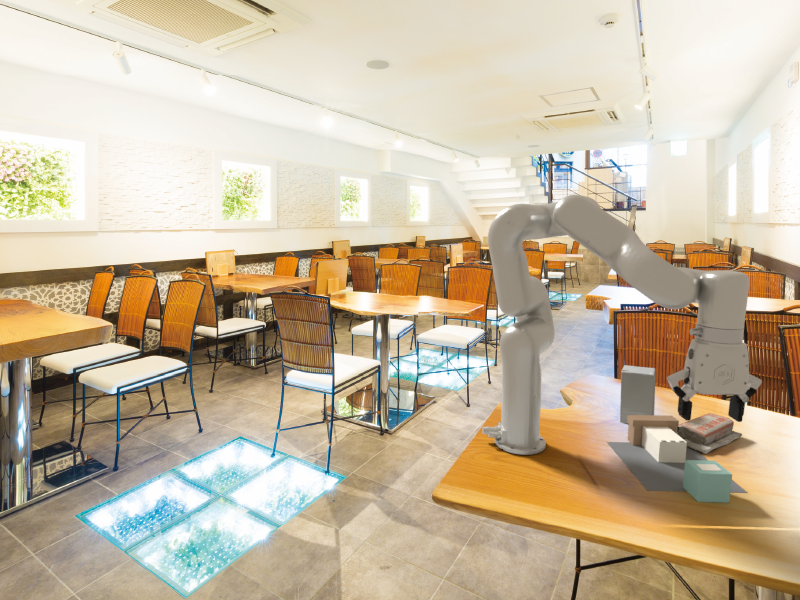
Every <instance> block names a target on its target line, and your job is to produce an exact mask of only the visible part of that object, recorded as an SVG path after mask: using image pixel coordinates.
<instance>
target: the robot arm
mask: <svg viewBox="0 0 800 600" xmlns="http://www.w3.org/2000/svg"><path fill="white" fill-rule="evenodd" d="M563 236H565V237H566V236H568V237H570V238H571V239H572V240H574V241H575V242H577V243H578V244H579V245H581V246H582V247H584V248H585V249H586V250H588V251H589V252H590V253H592V254H593V255H595V256H596V257H598V258H599V259H600V260H601V261H603V262H604V263H605V264H606V265H607V267H609V268H610V269H612V271H614V272H615V273H616V274H617V275H618V276H619V277H620V278H621V279H623V280H624V281H625V282H626V283H627V284H629V285H630V286H631V287H633V288H634V290H637V291H638V292H640V293H641V294H642V295H643V296H645V297H646V298H648V299H649V300H650V301H652V302H654V303H655V304H656V305H658V306H660V307H663V308H665V309H668V310H669V309H670V310H680V309H683V308H686V307H688V306H689V305H691V304H698V306H697V307H698V309H697V319H696V324H695V328H690V329H689V335H690V336H694V338H692V339H691V341H690V343H689V346H688V350H687V352H686V357H685V361H684V368H683V369H681V370H678V371H677V372H675V373H672V374H669V375H668V376H666V380H667V382H668V383H667V384H669V386H670V390H672V392H673V393H675V395H676V396H677V397H678V402H677V413H678V416H679V417H681V418H683V419H684V420H685V422H688V421H690V420H692V410H693V402H692V401H691V399H692V398H693V397H694V396H695V395H697V394H699V395H715V396H716V395H720V396H721V395H723V396H724V395H725V396H728V395H729V396H730V398H729V404H728V405H729V406H728V411H727V412H728V413H727V415H728V416H729V418H731V419H733V420H735V421H736V422H739V423H740V422H741V423H742V421H743V417H744V415H745V406H746V403H748V402H749V401H750V398H751V397H753V396H754V395H755V394H756V393H757V390H758V389H759V388H760V386H761V385H762V383H763V380H762V379H760V378H759V377H756V376H754V375H752V373H751V374H750V357H749V349H748V344H747V343H745V342H744V341H743V339H744V331H745V323H746V321H745V320H746V313H747V305H748V298H749V297H748V296H749V291H750V290H749V289H750V278H749V275H748V274H747V273H745V272H742V271H735V270H701V269H694V268H691V267H684V266H683V267H681V266H680V267H679V266H678V267H677V266H675V265H673V264H672V263H670V262H668V261H667V260H665V259H664V258H662V257H661V256H660V255H658V254H657V253H655V252H654V251H653V250H652V249H651V248H650V247H648V246H647V245H646V244H645V243H644V242H643V241H642V240H641V238H640V237H639V235H638V234H637V233H636V231H635V230H633V228H631V227H630V226H628V225H627V224H626V223H624V222H622V221H621V220H619V219H617V218H616V217H614V216H613V215H612V214H610V213H609V212H607V211H606V210H604V209H602V208H601V206H600V204H599V203H598V202H597V201H596V200H595V199H594V198H592V197H589V196H586V195H580V194H569V195H567V196H564V197H563V198H561V199H560V200H559V201H555V202H550V203H544V204H530V203H515V204H512V205H509V206H508V207H506V208H504V209H502V210H501V211H499V213H497V215H496V216H495V217H494V219H493V220H492V221H491V224H490V226H489V229H488V234H487V245H488V250H489V255H490V259H491V266H492V274H493V279H494V286H495V291H496V298H497V303H498V306H499V307H498V308H499V309H500V311H501V312H502V313H503V314H504V315H505V316H507V317H510V318H511V317H512V318H516V322H514V323H512V324H511V325H509V326H508V327H506V329H504V331H503V332H502V334H501V336H500V339H499V352H500V361H501V414H500V417H501V418H500V420H501V421H498V422H497V423H498V425H494V426H482V431H481V432H482V435H487V436H488V439H489V438H493V439H494V443H495V445H496V446H497V447H498V448H499V449H500V450H502V449H503V450H502V451H504V452H507V453H511V454H514V455H522V456H524V455H525V456H526V455H527V456H529V455H536V454H540V453H541V452H543V451H544V450H545V449H546V445H547V443H546V439H545V438H544V437H542V435H541V434H540V431H541V430H540V428H541V427H540V426H541V407H542V404H541V403H542V401H541V400H542V369H541V362H540V361H541V360H540V356H541V354H542V353H544V352H545V351H547V350H548V349H550V348H551V346H552V345H553V343H554V340H555V324H554V319H553V314H552V307H551V301H550V297H549V292H548V290H547V288H546V286H545V284H544V282H543V281H542V280H540V279H539V278H538V277H536V276H532V275H530V270H529V261H528V258H527V255H526V252H525V249H524V247H523V243H524V241H526V240H527V241H528V240H529V241H530V240H541V239H542V240H543V239H548V238H556V237H557V238H558V237H563ZM680 381H682V382H683V385H682V386H681V387H680V384H679V382H680Z"/></svg>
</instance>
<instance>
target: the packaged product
mask: <svg viewBox="0 0 800 600" xmlns="http://www.w3.org/2000/svg"><path fill="white" fill-rule="evenodd" d="M733 429H734V421H733V420H732V418H731V419H730V417H725V416H722V415H719V414H716V413H715V414H714V413H711V412H709V413H706V414H703V415H700V416H697V417H696V418H693V419H692V418H691V420H689V421H685V422H682V423H680V424H679V426H678V427H677V429H676V434H677V435H679V436H680V437H681V438H682V439H683V440H685V441H686V442H687V447H690V448H693V449H695V450H697V451H698V452H699V453H703V454H704V455H707V454H708V453H710V452H711V451H713V450H714V449H718V448H720V447H723V446H727V445H729V444H730V443H732V441H734V440H736V439H740V437H742V435H743V433H741V432H737V431H735V430H733Z"/></svg>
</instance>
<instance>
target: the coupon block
mask: <svg viewBox="0 0 800 600" xmlns="http://www.w3.org/2000/svg"><path fill="white" fill-rule="evenodd" d="M627 421H628V422H629V424H627V425H628V427H627V442H630V443H631V444H632V445H640V444H641V445H642V446H643V447H644V448H645V449H646V450H647V451H648V452H649V453H650V454H651V455H652V456H653V457H654V458H655V459H656V460H657V461H658V462H674V463H685V458H686V447H687V442H686V441H685V440H683V439H682V438H681V437H680V436H679V435H677V434H676V429H677V427H678V426H679V423H680V420H679V419H677V418H676V417H674V416H673V415H660V414H659V415H655V414H654V415H628V416H627Z"/></svg>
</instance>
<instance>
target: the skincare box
mask: <svg viewBox="0 0 800 600" xmlns="http://www.w3.org/2000/svg"><path fill="white" fill-rule="evenodd" d="M620 371H621V372H620V407H619V409H620V411H619V412H620V413H619V423H622V424H627V425H629V422H628V421H627V416H628V415H655V403H656V402H655V400H656V398H655V397H656V378H657V377H656V368H655V367H647V366H646V367H644V366H635V365H627V364H623V367H622V369H621V370H620Z"/></svg>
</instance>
